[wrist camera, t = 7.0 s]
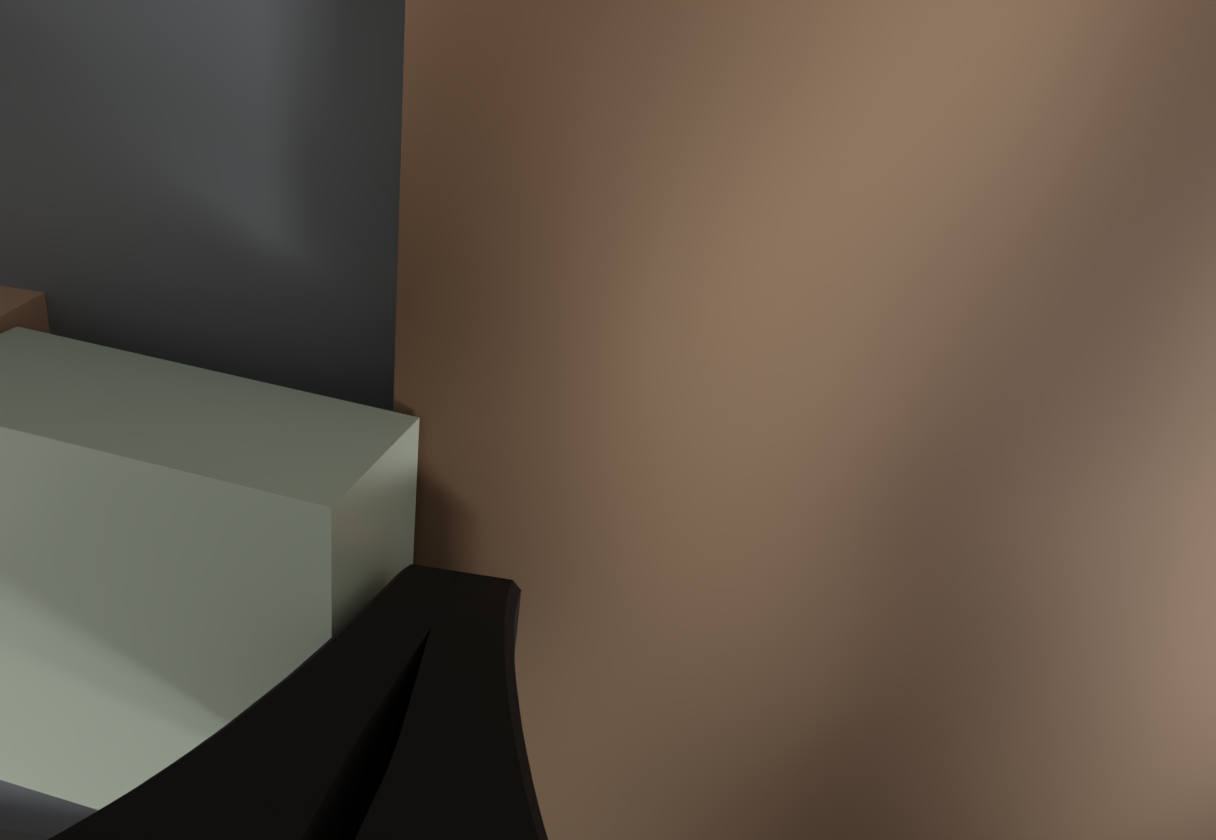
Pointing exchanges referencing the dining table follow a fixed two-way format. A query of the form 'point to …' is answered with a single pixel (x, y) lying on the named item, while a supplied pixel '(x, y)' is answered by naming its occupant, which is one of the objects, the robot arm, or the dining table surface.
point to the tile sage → (173, 551)
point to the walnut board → (827, 404)
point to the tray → (205, 197)
